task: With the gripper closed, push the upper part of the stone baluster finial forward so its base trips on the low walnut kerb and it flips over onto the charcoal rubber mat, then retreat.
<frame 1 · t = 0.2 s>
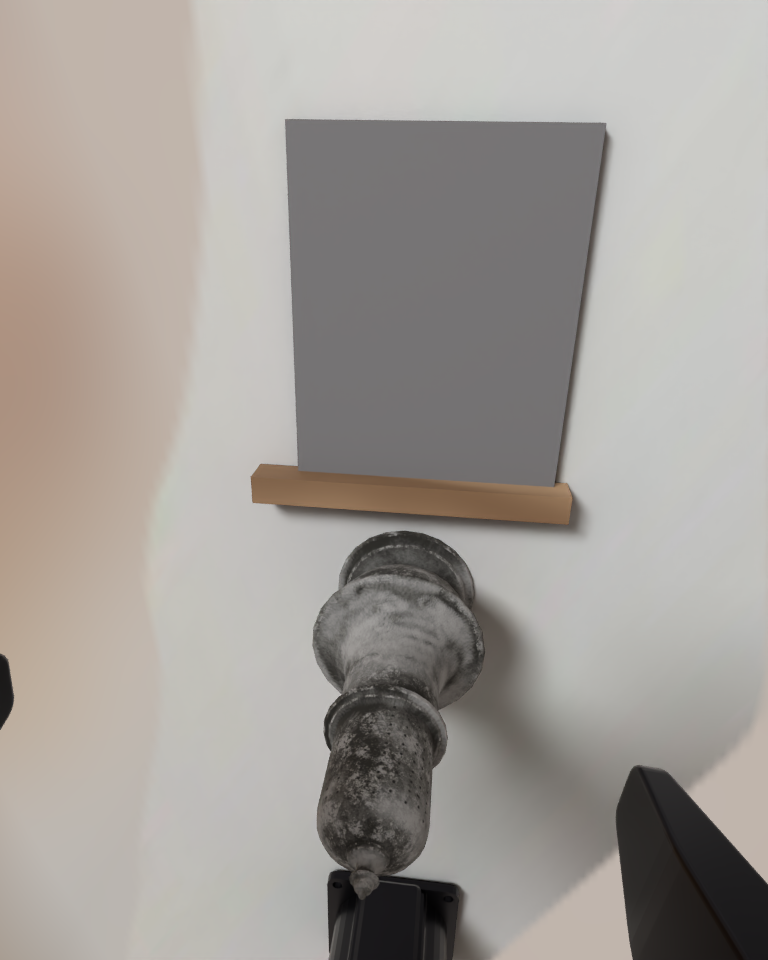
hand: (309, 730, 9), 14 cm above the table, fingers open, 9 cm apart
stone baluster finial: (406, 587, 25), on the table
mat: (432, 317, 20), on the table
kerb: (409, 486, 23), on the table
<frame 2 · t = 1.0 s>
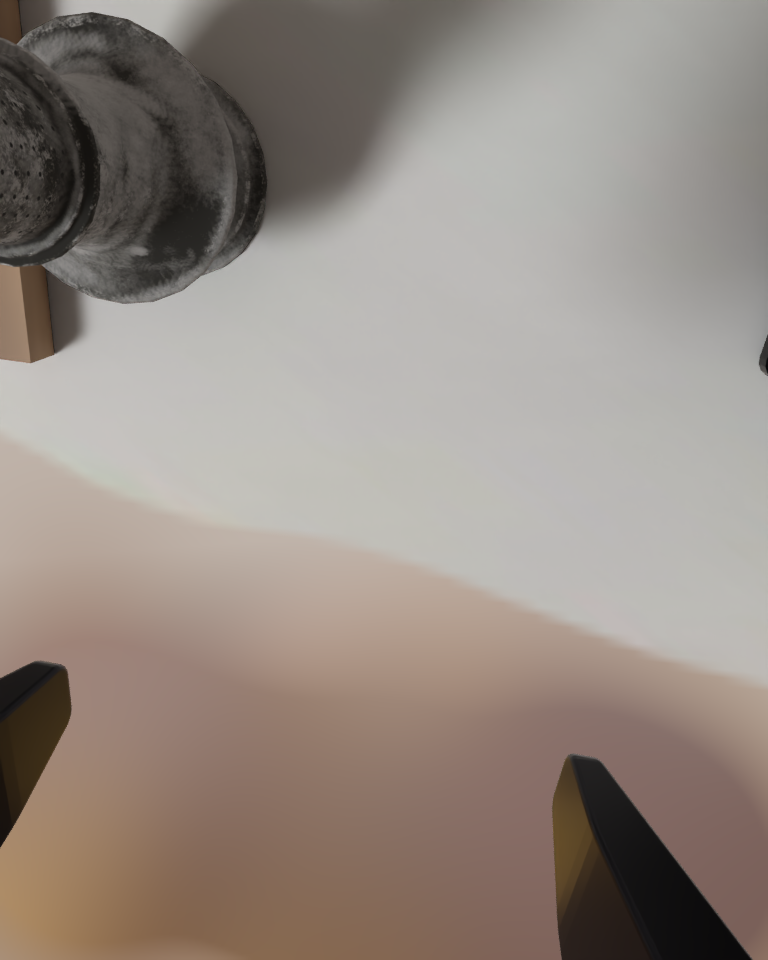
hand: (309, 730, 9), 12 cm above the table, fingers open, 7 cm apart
stone baluster finial: (176, 177, 18), on the table
kerb: (17, 158, 18), on the table
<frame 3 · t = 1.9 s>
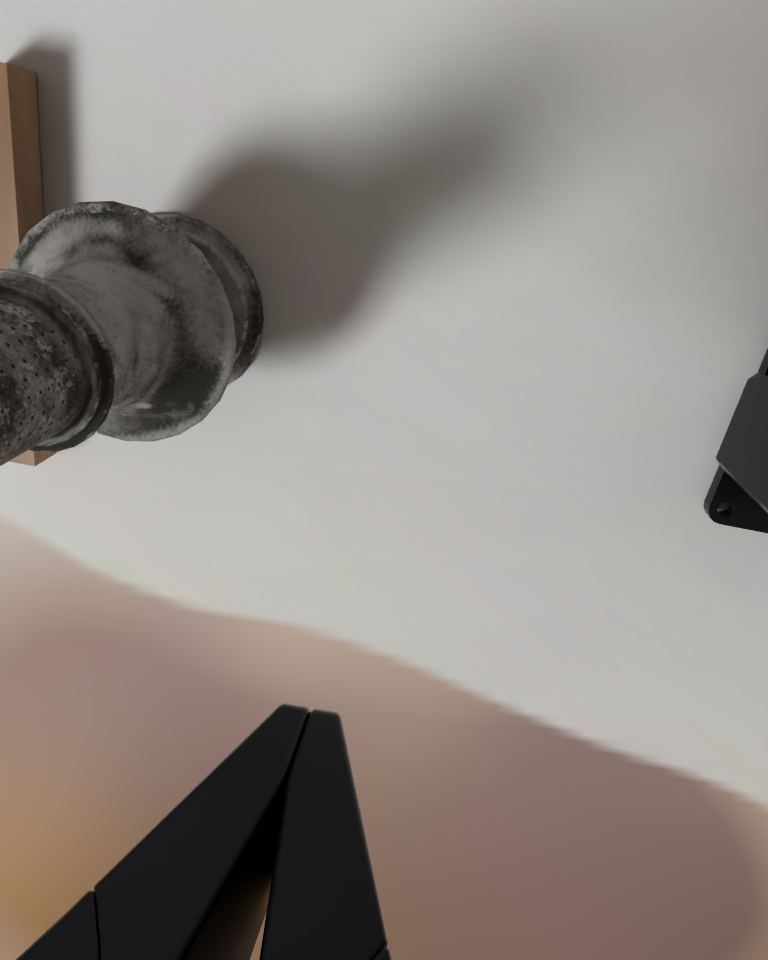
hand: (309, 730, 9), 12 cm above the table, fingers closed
stone baluster finial: (179, 308, 19), on the table
kerb: (31, 282, 19), on the table
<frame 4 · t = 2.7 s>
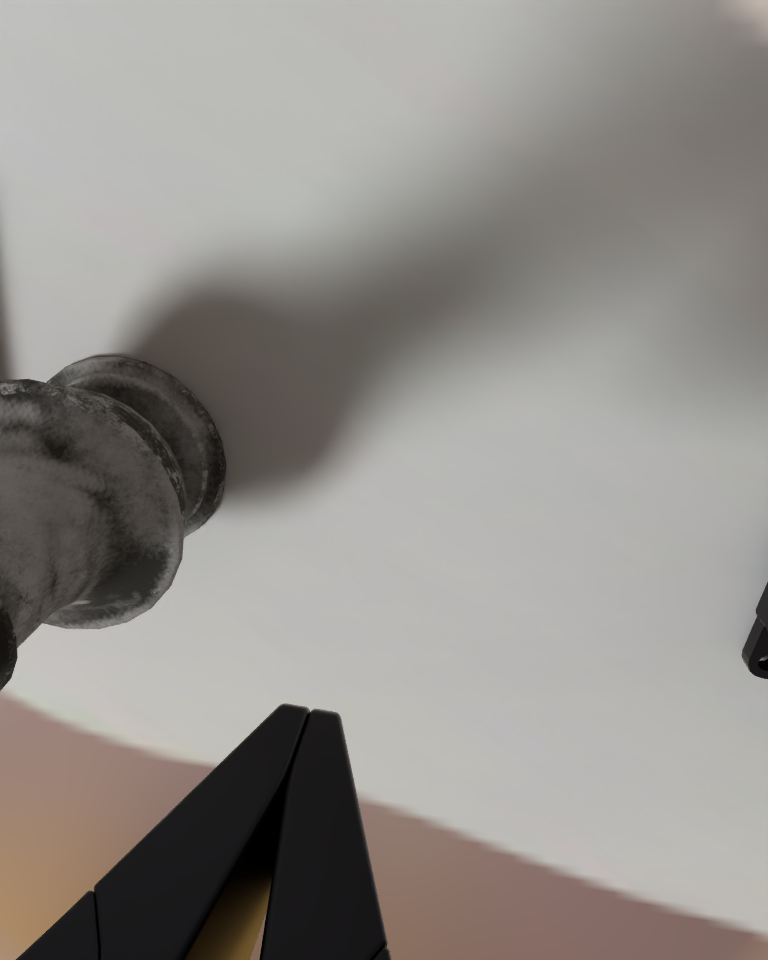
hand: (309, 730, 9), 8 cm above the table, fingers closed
stone baluster finial: (132, 452, 17), on the table
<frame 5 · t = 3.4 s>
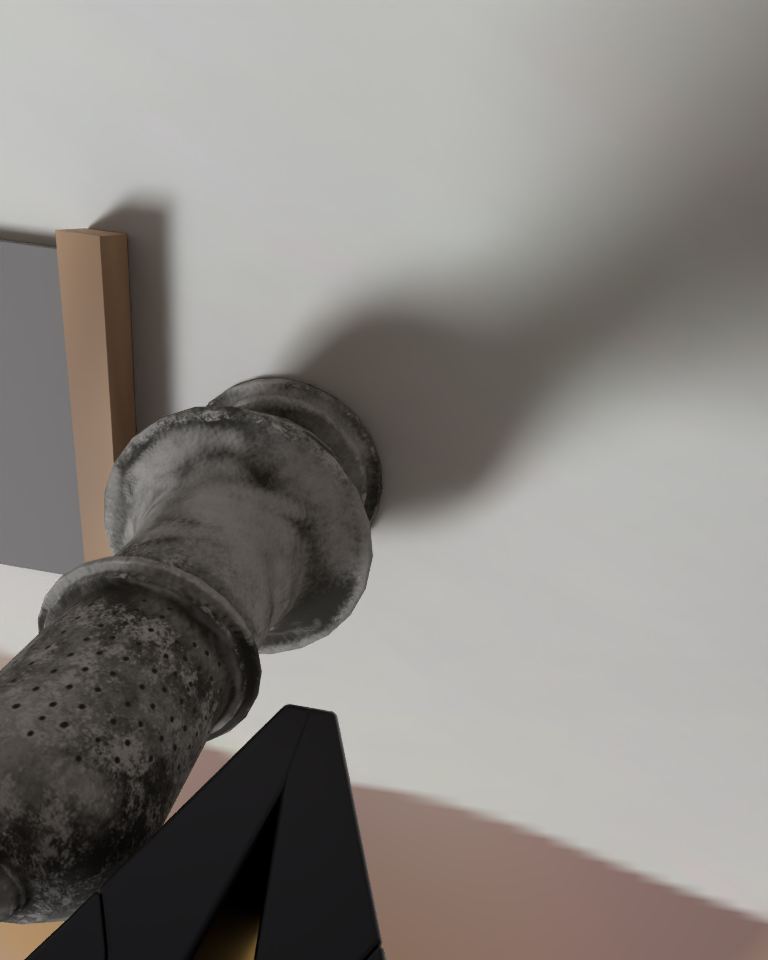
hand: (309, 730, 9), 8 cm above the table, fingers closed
stone baluster finial: (285, 473, 17), on the table, touching gripper
kerb: (119, 450, 17), on the table
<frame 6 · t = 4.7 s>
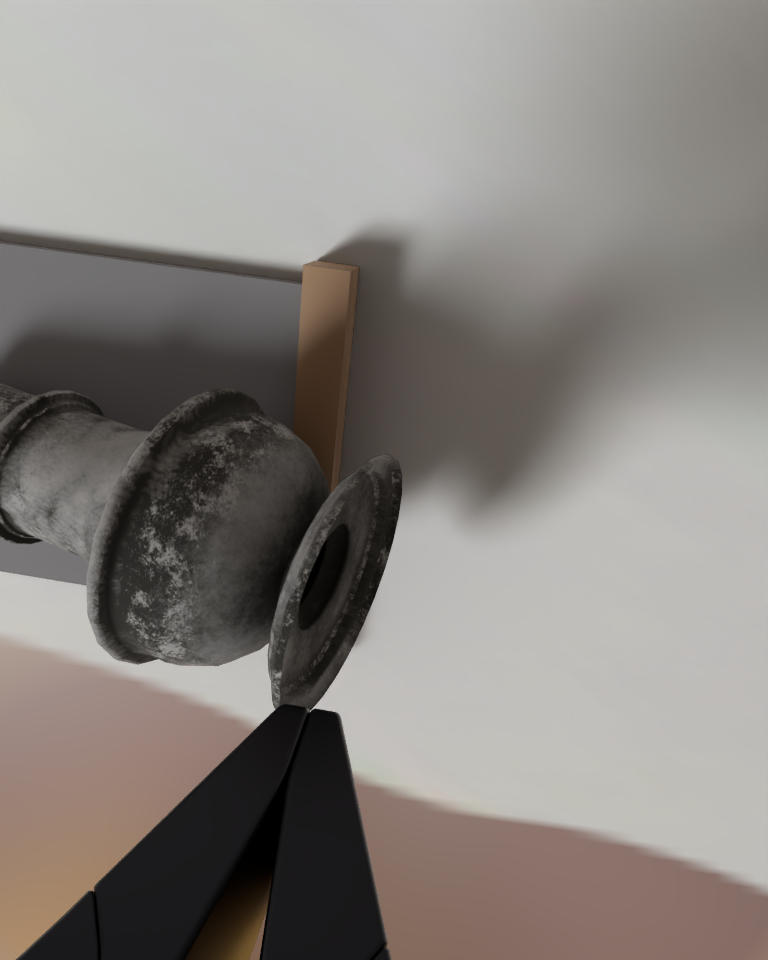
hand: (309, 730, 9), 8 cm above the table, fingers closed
stone baluster finial: (358, 590, 12), point 4 cm above the table, touching kerb, mat
mat: (94, 434, 16), on the table
kerb: (319, 486, 16), on the table
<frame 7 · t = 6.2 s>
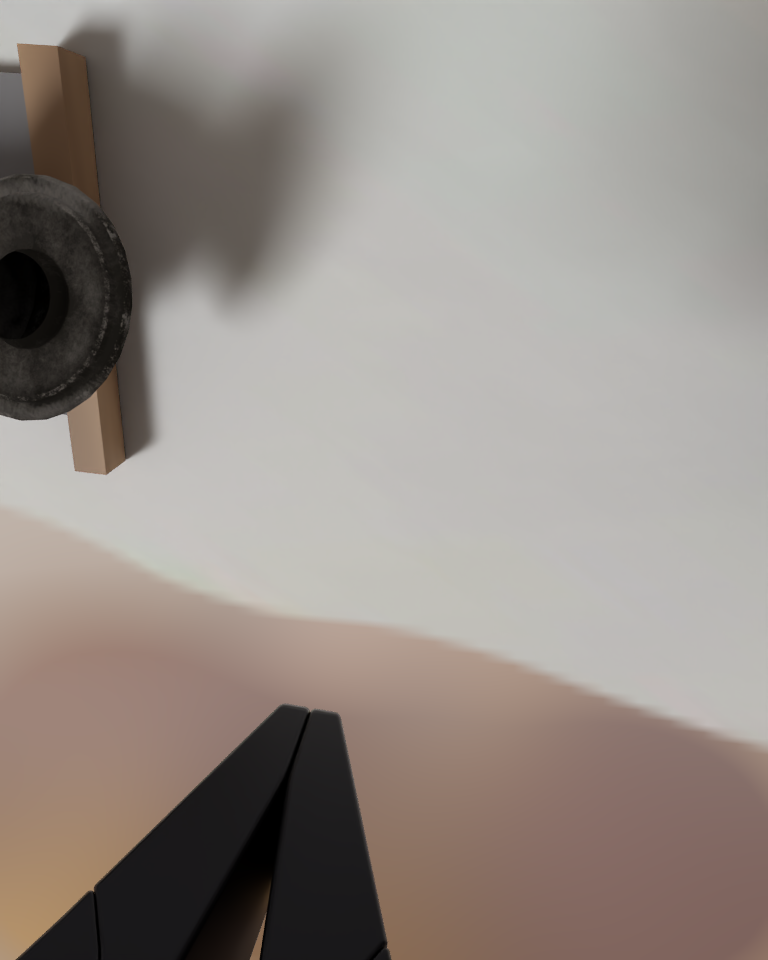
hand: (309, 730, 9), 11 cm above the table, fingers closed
stone baluster finial: (54, 307, 14), point 4 cm above the table, touching kerb, mat
kerb: (91, 281, 18), on the table
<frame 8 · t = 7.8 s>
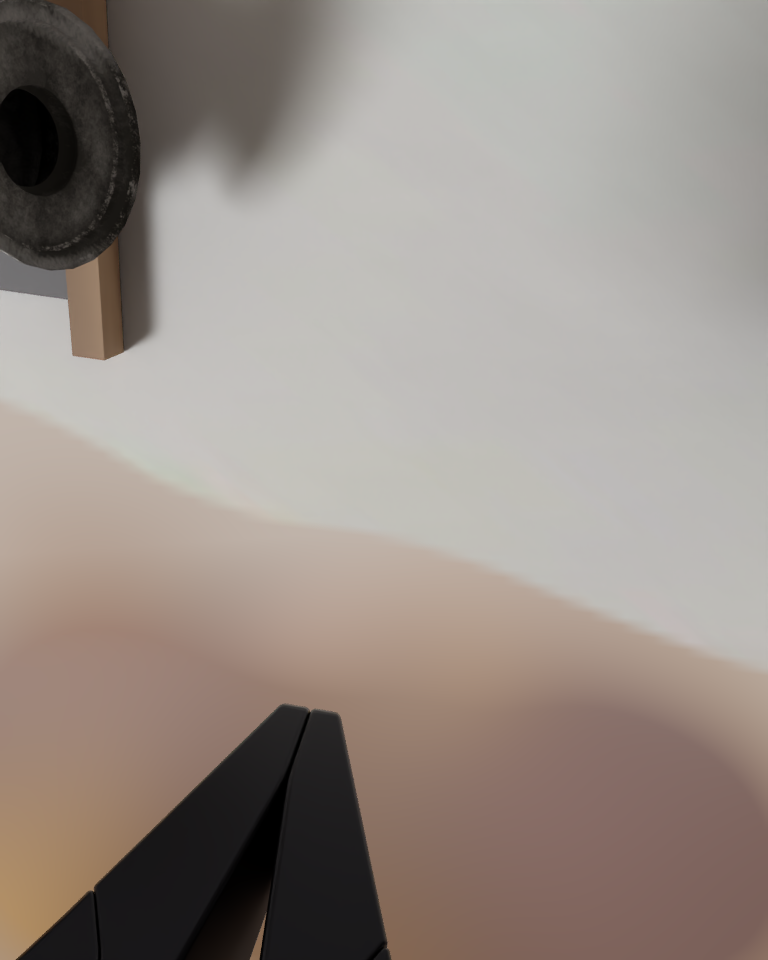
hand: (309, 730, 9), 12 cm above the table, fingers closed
stone baluster finial: (64, 149, 14), point 4 cm above the table, touching kerb, mat
kerb: (97, 159, 18), on the table
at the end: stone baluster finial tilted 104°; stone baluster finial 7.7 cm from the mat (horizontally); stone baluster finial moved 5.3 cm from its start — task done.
